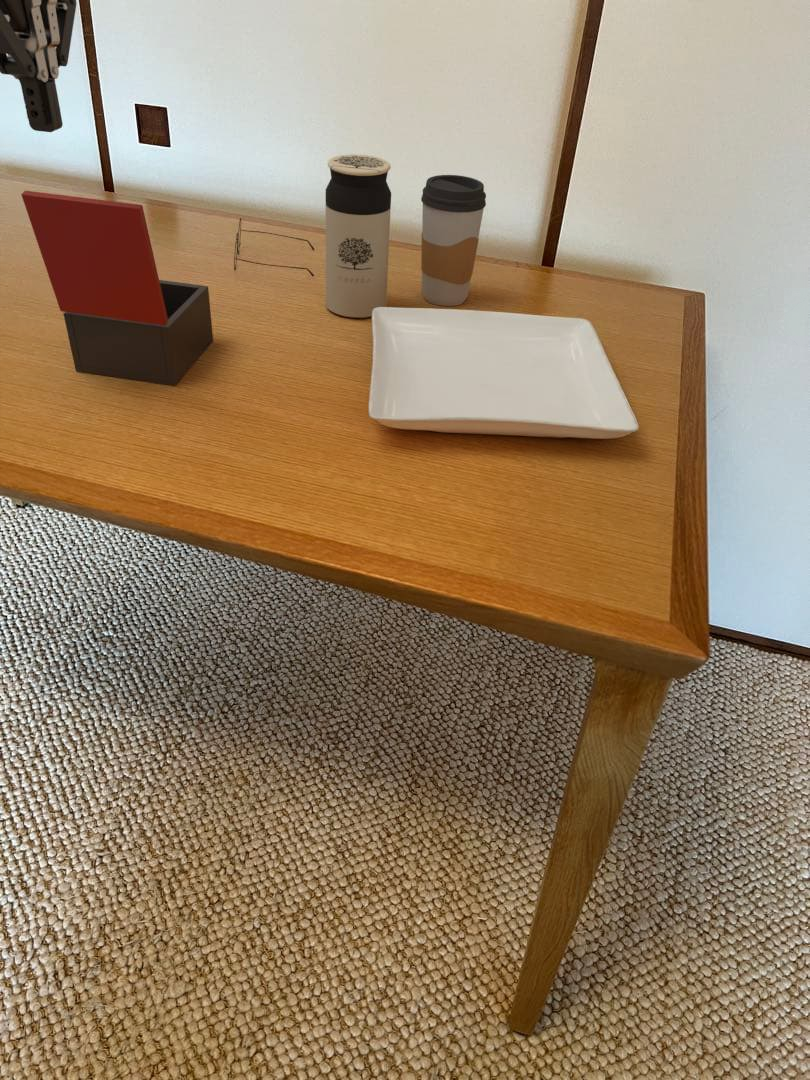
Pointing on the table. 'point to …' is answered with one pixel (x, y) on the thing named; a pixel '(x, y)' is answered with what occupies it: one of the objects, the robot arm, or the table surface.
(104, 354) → the open box
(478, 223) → the coffee cup
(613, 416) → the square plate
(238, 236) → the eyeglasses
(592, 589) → the table surface
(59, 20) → the robot arm
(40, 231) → the box lid
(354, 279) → the travel mug
